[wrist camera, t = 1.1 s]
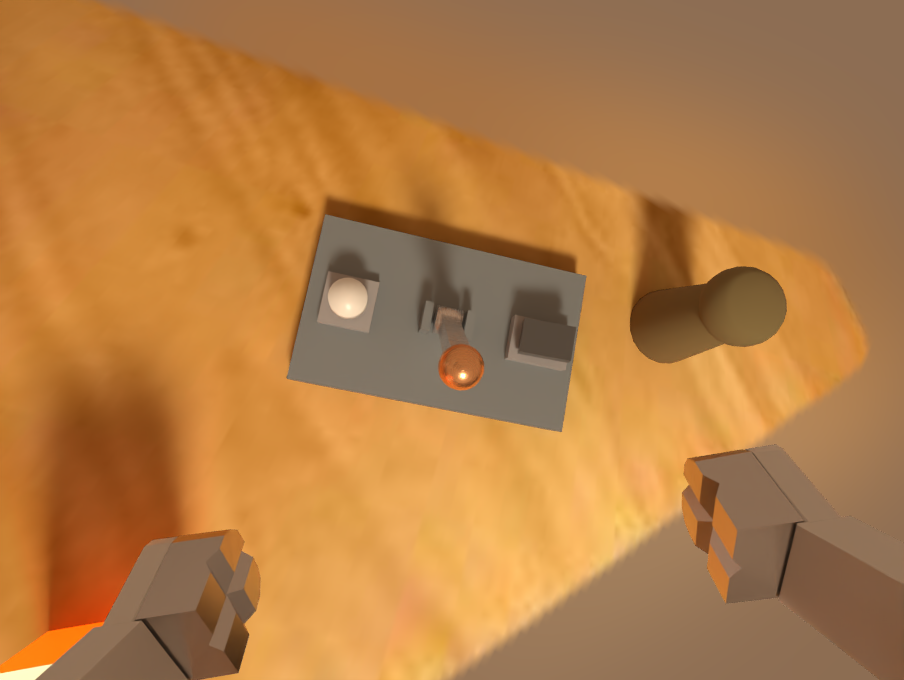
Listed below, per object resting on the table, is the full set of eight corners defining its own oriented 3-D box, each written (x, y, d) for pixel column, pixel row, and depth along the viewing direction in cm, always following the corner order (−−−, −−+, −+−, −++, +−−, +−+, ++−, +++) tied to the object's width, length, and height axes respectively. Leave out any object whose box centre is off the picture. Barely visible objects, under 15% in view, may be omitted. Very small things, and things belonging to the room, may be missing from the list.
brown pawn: (649, 276, 45) (740, 236, 34) (709, 314, 45) (818, 286, 34) (617, 339, 43) (700, 318, 33) (679, 377, 44) (782, 368, 33)
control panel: (290, 379, 39) (282, 376, 35) (327, 223, 41) (323, 204, 37) (552, 430, 42) (571, 433, 38) (576, 281, 43) (597, 269, 40)
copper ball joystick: (426, 330, 39) (434, 392, 27) (434, 298, 39) (445, 346, 26) (458, 337, 39) (480, 401, 27) (466, 306, 39) (492, 356, 27)
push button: (325, 314, 37) (323, 311, 36) (333, 278, 37) (332, 273, 36) (363, 323, 37) (362, 319, 36) (371, 286, 38) (371, 282, 36)
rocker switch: (517, 353, 39) (519, 351, 37) (522, 320, 39) (525, 317, 38) (567, 362, 38) (571, 360, 37) (572, 330, 39) (576, 327, 38)
